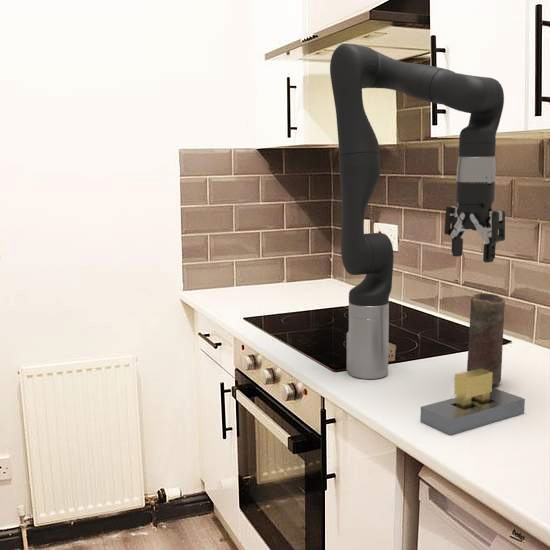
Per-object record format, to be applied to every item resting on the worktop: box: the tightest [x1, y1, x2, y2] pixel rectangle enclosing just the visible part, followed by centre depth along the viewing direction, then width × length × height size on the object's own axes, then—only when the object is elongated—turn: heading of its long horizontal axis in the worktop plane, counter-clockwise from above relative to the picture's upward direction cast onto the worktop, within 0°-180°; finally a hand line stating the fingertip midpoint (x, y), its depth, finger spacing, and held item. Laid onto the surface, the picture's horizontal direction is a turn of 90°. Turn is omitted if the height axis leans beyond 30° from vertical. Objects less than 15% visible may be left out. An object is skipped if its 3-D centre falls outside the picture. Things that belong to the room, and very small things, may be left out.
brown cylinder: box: [466, 292, 506, 387], centre depth 155 cm, size 8×7×20 cm
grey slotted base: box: [420, 387, 526, 436], centre depth 137 cm, size 8×20×3 cm, turn 121°
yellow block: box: [454, 368, 493, 410], centre depth 136 cm, size 3×7×8 cm, turn 120°
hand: (472, 259), depth 143 cm, fingers open, 8 cm apart
